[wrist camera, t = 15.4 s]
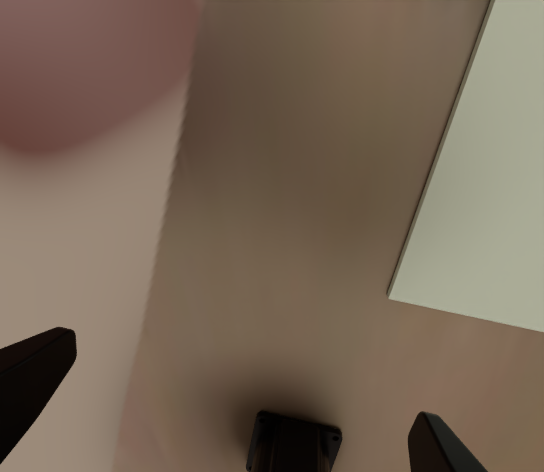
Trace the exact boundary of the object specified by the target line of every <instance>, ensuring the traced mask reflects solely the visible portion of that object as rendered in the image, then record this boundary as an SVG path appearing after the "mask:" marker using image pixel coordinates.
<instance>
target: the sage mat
mask: <svg viewBox="0 0 544 472" xmlns="http://www.w3.org/2000/svg"><path fill="white" fill-rule="evenodd" d="M387 296H388V299H392V300H396V301H401V302H406V303H410V304H415V305H420V306H424V307H429V308H434V309H438V310H443V311H448V312H452V313H457V314H462V315H466V316H471V317H476V318H480V319H485V320H490V321H494V322H499V323H504V324H508V325H513V326H518V327H522V328H527V329H532V330H536V331H541V332H544V0H491V1H490V4H489V7H488V10H487V13H486V16H485V18H484V21H483V24H482V27H481V30H480V33H479V35H478V38H477V41H476V44H475V47H474V50H473V52H472V55H471V58H470V61H469V64H468V67H467V69H466V72H465V75H464V78H463V81H462V84H461V86H460V89H459V92H458V95H457V98H456V100H455V103H454V106H453V109H452V112H451V115H450V117H449V120H448V123H447V126H446V129H445V132H444V134H443V137H442V140H441V143H440V146H439V149H438V151H437V154H436V157H435V160H434V163H433V166H432V168H431V171H430V174H429V177H428V180H427V183H426V185H425V188H424V191H423V194H422V197H421V200H420V202H419V205H418V208H417V211H416V214H415V217H414V219H413V222H412V225H411V228H410V231H409V233H408V236H407V239H406V242H405V245H404V248H403V250H402V253H401V256H400V259H399V262H398V265H397V267H396V270H395V273H394V276H393V279H392V282H391V284H390V287H389V290H388V293H387Z"/></svg>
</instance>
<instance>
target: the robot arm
mask: <svg viewBox="0 0 544 472" xmlns="http://www.w3.org/2000/svg"><path fill="white" fill-rule="evenodd" d="M76 356H77V349H76V335H75V332H74V331H73V330H71V329H67V328H63V327H56V328H53V329H51V330H48V331H45V332H43V333H40V334H38V335H35V336H32V337H30V338H28V339H25V340H22V341H20V342H17V343H15V344H12V345H10V346H7V347H4V348H2V349H0V464H1V463H2V462H3V460H4V459H5V458H6V457H7V455H8V454H9V453H10V452H11V450H12V449H13V448H14V447H15V446H16V444H17V443H18V442H19V441H20V439H21V438H22V437H23V436H24V434H25V433H26V432H27V431H28V429H29V428H30V427H31V425H32V424H33V423H34V422H35V420H36V419H37V418H38V416H39V415H40V413H41V412H42V410H43V409H44V407H45V406H46V404H47V403H48V401H49V400H50V398H51V397H52V395H53V394H54V392H55V391H56V389H57V388H58V386H59V385H60V383H61V382H62V380H63V379H64V377H65V376H66V374H67V373H68V371H69V370H70V368H71V367H72V365H73V364H74V362H75V360H76ZM262 418H263V419H262ZM341 442H342V432H341V431H340V430H338V429H335V428H331V427H327V426H323V425H318V424H314V423H310V422H306V421H302V420H297V419H293V418H289V417H285V416H281V415H277V414H272V413H268V412H263V411H261V412H259V413H258V414H257V417H256V422H255V426H254V431H253V436H252V440H251V445H250V450H249V454H248V459H247V464H246V469H247V471H249V472H331V469H332V467H333V464H334V461H335V459H336V456H337V453H338V450H339V448H340V445H341ZM408 449H409V458H410V467H411V472H488V471H487V470H486V469H485V468H484V467H483V466H482V464H481V463H480V462H479V461H478V460H477V459H476V458H475V456H474V455H473V454H472V453H471V452H470V451H469V450H468V448H467V447H466V446H465V445H464V444H463V443H462V442H461V440H460V439H459V438H458V437H457V436H456V435H455V434H454V432H453V431H452V430H451V429H450V428H449V427H448V426H447V424H446V423H445V422H444V421H443V420H442V419H441V418H440V417H439V416H438V415H436V414H432V413H428V412H423V411H422V412H420V413H419V414H418V415H417V417H416V419H415V421H414V424H413V426H412V428H411V430H410V432H409V435H408Z"/></svg>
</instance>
